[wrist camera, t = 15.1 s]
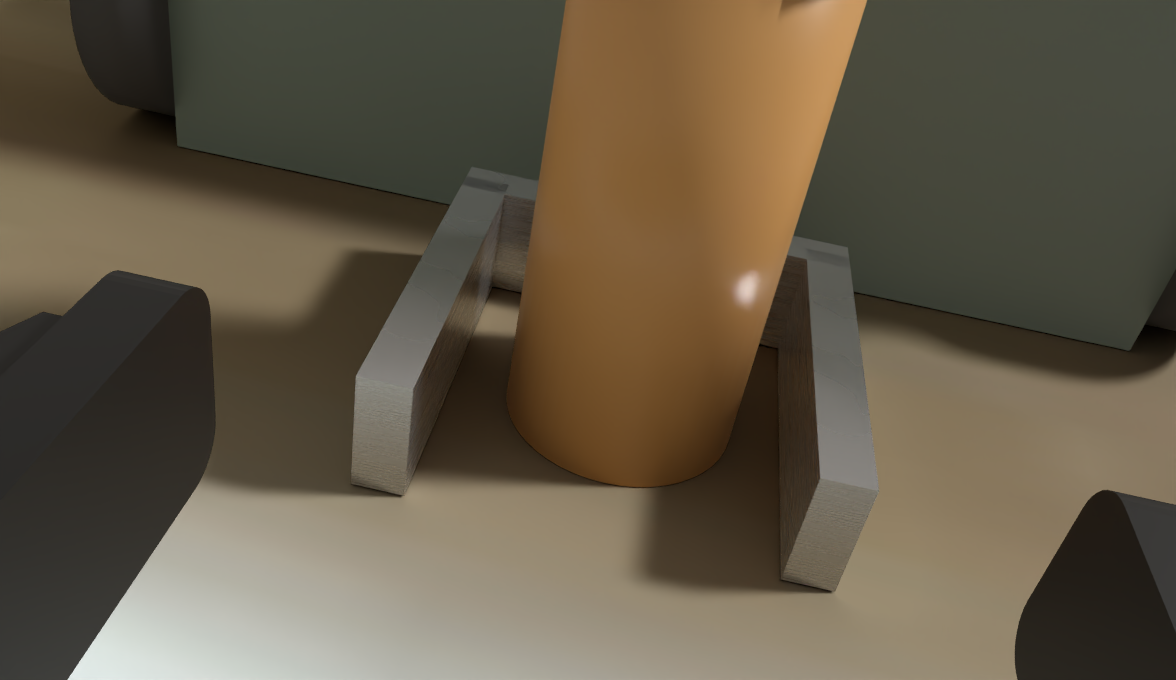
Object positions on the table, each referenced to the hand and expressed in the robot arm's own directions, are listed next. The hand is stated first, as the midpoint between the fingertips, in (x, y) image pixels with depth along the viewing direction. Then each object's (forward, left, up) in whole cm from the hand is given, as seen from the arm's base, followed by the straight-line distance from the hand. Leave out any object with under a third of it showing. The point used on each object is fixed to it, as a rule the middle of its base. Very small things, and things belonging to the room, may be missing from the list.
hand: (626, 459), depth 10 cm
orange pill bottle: (0, -10, -7) cm, 13 cm away
